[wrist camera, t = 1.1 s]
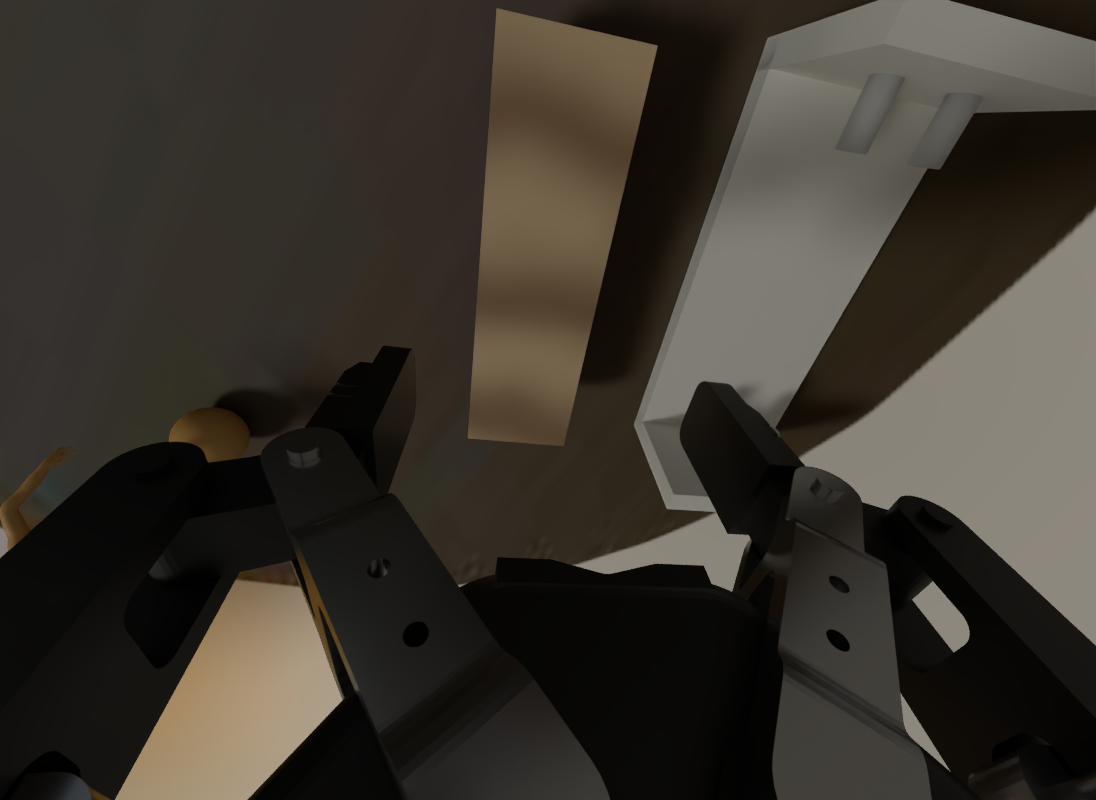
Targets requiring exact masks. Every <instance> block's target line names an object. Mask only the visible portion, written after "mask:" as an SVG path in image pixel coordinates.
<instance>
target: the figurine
mask: <svg viewBox="0 0 1096 800" xmlns="http://www.w3.org/2000/svg"><path fill="white" fill-rule="evenodd" d="M249 441H250V433H249V429H248V426H247V425H246V423H245V422H244V420H243V419H242V418H241V417H240V416H238V415H237V414H235V413H234V412H232V411H229V410H226V409H223V408H216V407H208V408H201V409H197V410H194V411H191V412H189V413H187V414H186V415H184V416H183V417H181V418H180V419H179V420H178V421H177V422H176V423H175V425H174V426H173V428H172V430H171V432H170V436H169V442H186V443H191V444H194V445H196V446H198V447H200V448H201V449H202V450H203V451H204V453H205V456H206V458H207V461H208V463H209V462H216V461H224V460H232V459H239V458H240V457H241V456H242V455H243V454H244V453H245V451H246V449H247V447H248V445H249ZM64 447H65V446H63V447H61V448H59V449H57V450H56V451H54V452H53V453H52V454H50V455H49V456H48V457H47V458H46V459H45V460H44V461H43V462H42V463H41V464H40V466H39V467H38V468H37V469H36V470H35V471H34V472H33V473H32V474H31V475H30V476H29V477H28V478H27V479H26V480H25V482H24V483H23V484H22V485H21V486H20V487H19V489H18V490H17V491H16V492H15V493H14V494H13V495H12V496H10V497H9V498H8V499H7V500H6V501H5V502H4V503H3V504H2V506H1V508H0V519H1V522H2V525H3V528H4V531H5V533H6V535H7V538H8V550H10V549H11V548H12V547H13V546H15V545H16V544H17V543H18V542H19V541H20V540H21V539H22V538H23V537H25V536H26V535H27V534H28V533H29V532H30V530H29V528H28V526H27V524H26V522H25V520H24V518H23V516H22V515H21V513H20V512H19V510H18V508H19V506H20V505H21V504H22V503H23V502H24V501H25V500H26V499H27V498H28V496H29V495H30V493H31V492H32V491H33V490H34V489H35V488H36V487H37V486H38V485H39V484H40V483H41V482H42V481H43V479H44V478H45V476H46V474H47V473H48V471H49V468H50V467H51V466H53V465H60V464H64V463H67V462H69V461H70V460H66V461H61V459H63V458H64V457H66V456H68V455H70V454H71V453H73V452H75V451H76V450H73V451H71V452H68V453H66V454H63V453H64V452H65V451H67V450H68V449H70V448H71V447H67V448H65V449H63V448H64ZM62 449H63V450H62ZM60 450H62V451H60ZM59 451H60V452H59Z"/></svg>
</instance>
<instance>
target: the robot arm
mask: <svg viewBox="0 0 1096 800" xmlns="http://www.w3.org/2000/svg"><path fill="white" fill-rule="evenodd" d="M415 408H416V373H415V352H414V349H411V348H401V347H392V346H383V347H382V348H381V350H380V351H379V353H378V355H377V356H376V358H375V360H374V361H373V363H366V362H359V363H358V364H356V365H354V366H353V367H351V368H349V369H347V370H346V371H344V373H343V374H342V375H341V377H340V378H339V380H338V381H337V383H336V385H334V387H333V388H332V390H331V391H330V392H329V395H327V397H326V398H325V399H324V401H323V402H322V404H321V405H320V407H319V408H318V409H317V411H316V412H315V414H314V415H313V416H312V418H311V419H310V421H309V422H308V423H307V425H306V426H305V428H300V429H296V430H292V431H289V432H286V433H284V434H282V435H280V436H278V437H276V438H274V439H273V440H272V441H270V442H269V443H268V444H267V445H266V446H265V447H264V449H263V450H262V452H261V455H258V456H253V457H247V458H239V459H232V460H224V461H216V462H209V463H208V461H207V458H206V456H205V453H204V451H203V450H202V449H201V448H200V447H198V446H196V445H194V444H191V443H186V442H161V443H156V444H150V445H147V446H143V447H139V448H136V449H133V450H131V451H129V452H126V453H124V454H122V455H120V456H118V457H116V458H114V459H113V460H111V461H109V462H108V463H107V464H105V465H104V466H103V467H102V468H100V469H99V470H98V471H97V472H96V473H95V474H94V475H93V476H92V477H90V478H89V479H88V480H87V481H86V482H85V483H84V484H83V485H82V486H80V487H79V488H78V489H77V490H76V491H75V492H74V493H73V494H71V495H70V496H69V497H68V498H67V499H66V500H65V501H64V502H63V503H61V504H60V505H59V506H58V507H57V508H56V509H55V510H54V511H52V512H51V513H50V514H49V515H48V516H47V517H46V518H45V519H44V520H42V521H41V522H40V523H39V524H38V525H37V526H36V527H35V528H34V529H32V530H31V531H30V532H29V533H28V534H27V535H26V536H25V537H23V538H22V539H21V540H20V541H19V542H18V543H17V544H16V545H15V546H13V547H12V548H11V549H10V550H9V551H8V552H7V553H6V554H5V555H4V556H2V557H1V558H0V800H115V798H116V796H117V795H118V793H119V791H120V789H121V787H122V785H123V784H124V782H125V780H126V778H127V776H128V775H129V773H130V771H131V769H132V767H133V765H134V763H135V762H136V760H137V758H138V756H139V755H140V753H141V751H142V749H143V747H144V745H145V744H146V742H147V740H148V738H149V736H150V734H151V733H152V731H153V729H154V727H155V725H156V724H157V722H158V720H159V718H160V716H161V714H162V713H163V711H164V709H165V707H166V705H167V704H168V702H169V700H170V698H171V696H172V694H173V693H174V691H175V689H176V687H177V685H178V683H179V682H180V680H181V678H182V676H183V674H184V673H185V671H186V669H187V667H188V665H189V663H190V662H191V660H192V658H193V656H194V654H195V653H196V651H197V649H198V647H199V645H200V643H201V641H202V640H203V638H204V636H205V634H206V632H207V631H208V629H209V627H210V625H211V623H212V622H213V620H214V618H215V616H216V614H217V612H218V610H219V609H220V607H221V605H222V603H223V601H224V600H225V598H226V596H227V594H228V592H229V591H230V589H231V587H232V585H233V583H234V581H235V580H236V578H237V576H238V574H239V572H242V571H247V570H251V569H256V568H260V567H264V566H269V565H273V564H278V563H282V562H287V561H291V564H292V567H293V569H294V572H295V574H296V577H297V579H298V582H299V584H300V587H301V589H302V592H303V595H304V597H305V600H306V602H307V605H308V607H309V610H310V613H311V615H312V617H313V620H314V623H315V625H316V628H317V631H318V633H319V636H320V639H321V642H322V645H323V648H324V651H325V653H326V656H327V659H328V662H329V665H330V668H331V670H332V673H333V675H334V678H335V681H336V684H337V686H338V689H339V691H340V694H341V697H342V699H343V700H342V702H341V703H340V704H339V705H338V706H337V707H336V708H335V709H334V710H333V711H332V712H331V713H330V714H329V715H328V716H327V717H326V718H325V719H324V720H323V721H322V722H321V723H320V725H319V726H318V727H317V728H316V729H315V730H314V731H313V732H312V733H311V734H310V735H309V736H308V737H307V738H306V739H305V740H304V741H303V742H302V743H301V744H300V745H299V746H298V748H297V749H296V750H295V751H294V752H293V753H292V754H291V755H290V756H289V757H288V758H287V759H286V760H285V761H284V762H283V763H282V765H280V766H279V767H278V768H277V769H276V771H275V772H274V773H273V774H272V775H271V776H270V777H269V778H268V779H267V780H266V781H265V782H264V783H263V784H262V785H261V786H260V787H259V788H258V789H257V790H256V791H255V792H254V794H253V795H252V796H251V797H250V798H249V799H248V800H1096V646H1095V645H1094V644H1093V643H1092V642H1091V641H1090V640H1089V639H1088V638H1087V637H1086V636H1085V635H1084V634H1083V633H1082V632H1080V631H1079V630H1078V629H1077V628H1076V627H1075V626H1074V625H1073V624H1072V623H1071V622H1070V621H1069V620H1068V619H1066V618H1065V617H1064V616H1063V615H1062V614H1061V613H1060V612H1059V611H1058V610H1057V609H1056V608H1055V607H1054V606H1052V605H1051V604H1050V603H1049V602H1048V601H1047V600H1046V599H1045V598H1044V597H1043V596H1042V595H1041V594H1040V593H1039V592H1037V591H1036V590H1035V589H1034V588H1033V587H1032V586H1031V585H1030V584H1029V583H1028V582H1026V580H1025V579H1023V578H1022V577H1021V576H1020V575H1019V574H1018V573H1017V572H1016V571H1015V570H1014V569H1013V568H1012V567H1011V566H1009V565H1008V564H1007V563H1006V562H1005V561H1004V560H1003V559H1002V558H1001V557H1000V556H999V555H997V553H996V552H994V551H993V550H992V549H991V548H990V547H989V546H988V545H987V544H986V543H985V542H984V541H983V540H982V539H980V538H979V537H978V536H977V535H976V534H975V533H974V532H973V531H972V530H971V529H970V528H969V527H968V526H966V525H965V524H964V523H963V522H962V521H961V520H960V519H959V518H957V517H956V516H955V515H953V514H952V513H950V512H949V511H947V510H946V509H944V508H942V507H940V506H938V505H936V504H934V503H932V502H930V501H927V500H925V499H922V498H918V497H914V496H902V497H900V498H899V499H898V500H897V501H896V502H895V503H894V504H893V506H892V507H891V508H890V509H889V510H886V509H882V508H879V507H876V506H872V505H869V504H866V503H863V502H862V501H861V498H860V496H859V495H858V493H857V492H856V491H855V490H854V489H853V488H852V487H851V486H850V485H849V484H847V483H846V482H845V481H843V480H842V479H840V478H839V477H837V476H835V475H833V474H831V473H829V472H827V471H824V470H822V469H818V468H814V467H806V466H805V465H804V464H803V463H802V462H801V461H800V459H799V458H798V457H797V456H796V455H795V454H794V452H793V451H792V450H791V449H790V448H789V447H788V445H787V444H786V443H785V442H784V441H783V440H782V438H781V437H778V434H777V433H776V431H775V430H774V429H773V428H772V427H770V424H769V423H768V422H767V421H766V420H765V419H764V417H763V416H762V415H761V414H760V413H759V412H758V411H756V410H755V409H753V408H752V407H751V406H749V405H748V404H746V402H745V401H744V400H743V399H742V398H741V396H740V395H739V394H738V393H737V392H736V390H735V389H734V388H733V387H732V386H731V385H730V384H727V383H717V382H708V381H702V382H701V383H699V385H698V386H697V388H696V390H695V392H694V395H693V397H692V399H691V402H690V404H689V407H688V409H687V411H686V414H685V416H684V419H683V421H682V424H681V427H680V442H681V445H682V447H683V449H684V451H685V453H686V455H687V457H688V459H689V460H690V462H691V464H692V466H693V468H694V470H695V472H696V474H697V476H698V478H699V480H700V482H701V483H702V485H703V487H704V489H705V491H706V493H707V495H708V497H709V499H710V501H711V503H712V505H713V506H714V508H715V510H716V512H717V514H718V516H719V518H720V520H721V522H722V524H723V526H724V527H725V529H726V531H727V533H728V534H743V535H749V536H750V538H751V539H750V541H749V542H748V544H747V545H746V547H745V549H744V552H743V556H742V559H741V563H740V567H739V570H738V574H737V577H736V581H735V584H734V588H733V591H732V592H731V591H729V590H726V589H724V588H721V587H719V586H716V585H713V584H711V582H710V579H709V577H708V575H707V572H706V570H705V568H704V566H697V565H672V564H653V565H648V566H644V567H640V568H635V569H631V570H626V571H622V572H618V573H613V574H602V573H598V572H594V571H591V570H587V569H583V568H580V567H576V566H573V565H569V564H566V563H562V562H558V561H555V560H551V559H526V558H502V557H497V564H496V571H495V575H491V576H487V577H483V578H480V579H478V580H475V581H472V582H470V583H467V584H465V585H463V586H461V587H459V586H458V585H457V583H456V582H455V581H454V579H453V578H452V576H451V575H450V573H449V572H448V570H447V569H446V567H445V566H444V565H443V563H442V562H441V560H440V559H439V557H438V556H437V554H436V553H435V551H434V550H433V548H432V547H431V546H430V544H429V543H428V541H427V540H426V538H425V537H424V535H423V534H422V532H421V531H420V530H419V528H418V527H417V525H416V524H415V522H414V521H413V519H412V518H411V516H410V515H409V513H408V512H407V511H406V509H405V508H404V506H403V505H402V503H401V502H400V500H399V499H398V498H397V497H396V496H395V495H394V494H392V493H389V494H388V491H389V488H390V485H391V482H392V479H393V477H394V474H395V471H396V468H397V465H398V463H399V460H400V457H401V454H402V451H403V448H404V446H405V443H406V440H407V437H408V434H409V431H410V429H411V426H412V423H413V420H414V415H415ZM932 581H934V583H935V584H936V585H937V586H938V587H939V589H941V591H942V592H943V593H944V594H945V595H946V597H947V598H948V599H949V600H950V601H951V602H952V603H953V605H954V606H955V607H956V608H957V609H958V610H959V611H960V613H961V614H962V615H963V616H964V618H965V620H966V621H967V624H968V626H969V630H970V637H969V640H968V642H967V643H966V644H965V645H964V646H963V647H961V648H960V649H958V650H957V651H956V652H954V653H953V651H952V650H951V649H950V648H949V646H948V645H947V644H946V643H945V641H944V640H943V639H942V638H941V636H940V635H939V634H938V632H937V631H936V630H935V629H934V627H933V626H932V625H931V623H930V622H929V621H928V620H927V618H926V617H925V616H924V615H923V613H922V612H921V611H920V609H919V608H918V607H917V606H916V604H915V603H914V602H913V601H912V599H913V598H914V597H915V596H916V595H918V594H919V593H920V592H921V591H922V590H923V589H924V588H926V587H927V586H928V585H929V584H930V583H931V582H932ZM900 692H901V694H902V696H903V697H904V699H905V700H906V702H907V703H908V705H909V707H910V708H911V710H912V711H913V713H914V715H915V716H916V717H917V719H918V721H919V722H920V724H921V726H922V727H923V729H924V730H925V732H926V733H927V735H928V736H929V738H930V740H931V741H932V743H933V744H934V746H935V747H936V749H937V751H938V752H939V754H940V755H941V757H942V759H943V760H944V762H945V763H946V765H947V766H948V768H949V769H950V771H951V772H950V771H949V770H947V769H946V768H945V767H944V766H943V765H942V764H940V763H939V762H938V761H937V760H936V759H935V758H934V757H932V756H931V755H930V754H929V753H928V752H927V751H925V750H924V749H923V748H922V747H921V746H920V745H918V744H917V743H916V742H915V741H914V740H913V739H912V738H911V737H910V736H909V735H908V733H907V732H906V729H905V727H904V722H903V715H902V706H901V696H900Z"/></svg>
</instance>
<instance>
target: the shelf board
mask: <svg viewBox="0 0 1096 800" xmlns="http://www.w3.org/2000/svg"><path fill="white" fill-rule="evenodd" d="M657 47H658V46H657V45H652V44H648V43H644V42H640V41H635V40H631V39H627V38H622V37H618V36H614V35H609V34H605V33H601V32H596V31H592V30H588V29H583V28H579V27H575V26H571V25H566V24H562V23H558V22H553V21H549V20H545V19H540V18H536V17H532V16H527V15H523V14H519V13H515V12H510V11H506V10H502V9H497V12H496V27H495V42H494V56H493V71H492V86H491V101H490V116H489V131H488V146H487V160H486V175H485V190H484V205H483V220H482V235H481V250H480V265H479V279H478V294H477V309H476V324H475V339H474V354H473V369H472V383H471V398H470V413H469V428H468V438H471V439H483V440H495V441H508V442H520V443H532V444H545V445H557V446H564V441H565V437H566V433H567V429H568V425H569V420H570V416H571V412H572V408H573V403H574V399H575V395H576V391H577V386H578V382H579V378H580V374H581V369H582V365H583V361H584V357H585V352H586V348H587V344H588V340H589V335H590V331H591V327H592V323H593V318H594V314H595V310H596V306H597V301H598V297H599V293H600V289H601V284H602V280H603V276H604V272H605V267H606V263H607V259H608V255H609V250H610V246H611V242H612V238H613V233H614V229H615V225H616V221H617V216H618V212H619V208H620V204H621V199H622V195H623V191H624V187H625V182H626V178H627V174H628V170H629V165H630V161H631V157H632V153H633V149H634V144H635V140H636V136H637V132H638V127H639V123H640V119H641V115H642V110H643V106H644V102H645V98H646V93H647V89H648V85H649V81H650V76H651V72H652V68H653V64H654V59H655V55H656V51H657Z"/></svg>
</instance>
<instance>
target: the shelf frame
mask: <svg viewBox="0 0 1096 800" xmlns="http://www.w3.org/2000/svg"><path fill="white" fill-rule="evenodd" d="M1072 110H1096V41H1093V40H1089V39H1085V38H1082V37H1078V36H1075V35H1071V34H1067V33H1064V32H1060V31H1057V30H1053V29H1049V28H1046V27H1042V26H1039V25H1035V24H1032V23H1028V22H1024V21H1021V20H1017V19H1014V18H1010V17H1006V16H1003V15H999V14H996V13H992V12H989V11H985V10H981V9H978V8H974V7H971V6H967V5H963V4H960V3H956V2H953V1H949V0H878V1H875V2H872V3H869V4H866V5H863V6H860V7H857V8H854V9H851V10H848V11H845V12H842V13H839V14H837V15H834V16H831V17H828V18H825V19H822V20H819V21H816V22H813V23H810V24H807V25H804V26H801V27H798V28H795V29H792V30H789V31H786V32H784V33H781V34H778V35H775V36H772V37H769V38H768V39H767V41H766V44H765V47H764V50H763V53H762V56H761V59H760V62H759V65H758V67H757V70H756V73H755V76H754V79H753V82H752V85H751V88H750V91H749V93H748V96H747V99H746V102H745V105H744V108H743V111H742V114H741V117H740V119H739V122H738V125H737V128H736V131H735V134H734V137H733V140H732V143H731V145H730V148H729V151H728V154H727V157H726V160H725V163H724V166H723V169H722V171H721V174H720V177H719V180H718V183H717V186H716V189H715V192H714V195H713V198H712V200H711V203H710V206H709V209H708V212H707V215H706V218H705V221H704V224H703V226H702V229H701V232H700V235H699V238H698V241H697V244H696V247H695V250H694V252H693V255H692V258H691V261H690V264H689V267H688V270H687V273H686V276H685V278H684V281H683V284H682V287H681V290H680V293H679V296H678V299H677V302H676V304H675V307H674V310H673V313H672V316H671V319H670V322H669V325H668V328H667V330H666V333H665V336H664V339H663V342H662V345H661V348H660V351H659V354H658V357H657V359H656V362H655V365H654V368H653V371H652V374H651V377H650V380H649V383H648V385H647V388H646V391H645V394H644V397H643V400H642V403H641V406H640V409H639V411H638V414H637V417H636V420H635V423H634V427H635V429H636V432H637V434H638V437H639V439H640V442H641V444H642V447H643V449H644V452H645V455H646V457H647V460H648V462H649V465H650V467H651V470H652V472H653V475H654V477H655V480H656V482H657V485H658V488H659V490H660V493H661V495H662V498H663V500H664V503H665V505H666V508H667V509H677V510H694V511H710V512H716V510H715V508H714V506H713V505H712V503H711V501H710V499H709V497H708V495H707V493H706V491H705V489H704V487H703V485H702V483H701V482H700V480H699V478H698V476H697V474H696V472H695V470H694V468H693V466H692V464H691V462H690V460H689V459H688V457H687V455H686V453H685V451H684V449H683V447H682V445H681V442H680V427H681V424H682V421H683V419H684V416H685V414H686V411H687V409H688V407H689V404H690V402H691V399H692V397H693V395H694V392H695V390H696V388H697V386H698V385H699V383H701V382H702V381H708V382H717V383H727V384H730V385H731V386H732V387H733V388H734V389H735V390H736V392H737V393H738V394H739V395H740V396H741V398H742V399H743V400H744V401H745V402H746V404H748V405H749V406H751V407H752V408H753V409H755V410H756V411H758V412H759V413H760V414H761V415H762V416H763V417H764V419H765V420H766V421H767V422H768V423H769V424H770V427H772V428H773V429H774V430H775V431H776V433H777V434H778V437H779V436H780V432H779V431H778V430H777V429H776V428H775V427H776V426H777V424H778V422H779V420H780V419H781V417H782V415H783V414H784V412H785V410H786V408H787V407H788V405H789V403H790V402H791V400H792V398H793V397H794V395H795V393H796V391H797V390H798V388H799V386H800V385H801V383H802V381H803V380H804V378H805V376H806V374H807V373H808V371H809V369H810V368H811V366H812V364H813V363H814V361H815V359H816V357H817V356H818V354H819V352H820V351H821V349H822V347H823V345H824V344H825V342H826V340H827V339H828V337H829V335H830V334H831V332H832V330H833V328H834V327H835V325H836V323H837V322H838V320H839V318H840V317H841V315H842V313H843V311H844V310H845V308H846V306H847V305H848V303H849V301H850V300H851V298H852V296H853V294H854V293H855V291H856V289H857V288H858V286H859V284H860V282H861V281H862V279H863V277H864V276H865V274H866V272H867V271H868V269H869V267H870V265H871V264H872V262H873V260H874V259H875V257H876V255H877V254H878V252H879V250H880V248H881V247H882V245H883V243H884V242H885V240H886V238H887V236H888V235H889V233H890V231H891V230H892V228H893V226H894V225H895V223H896V221H897V219H898V218H899V216H900V214H901V213H902V211H903V209H904V208H905V206H906V204H907V202H908V201H909V199H910V197H911V196H912V194H913V192H914V191H915V189H916V187H917V185H918V184H919V182H920V180H921V179H922V177H923V175H924V173H925V172H926V170H927V168H930V169H941V167H942V165H943V164H944V162H945V160H946V159H947V157H948V155H949V154H950V152H951V150H952V149H953V147H954V146H955V144H956V142H957V141H958V139H959V137H960V136H961V134H962V132H963V131H964V129H965V127H966V126H967V124H968V122H969V121H970V119H971V117H972V116H973V114H974V113H987V112H1029V111H1072Z"/></svg>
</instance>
